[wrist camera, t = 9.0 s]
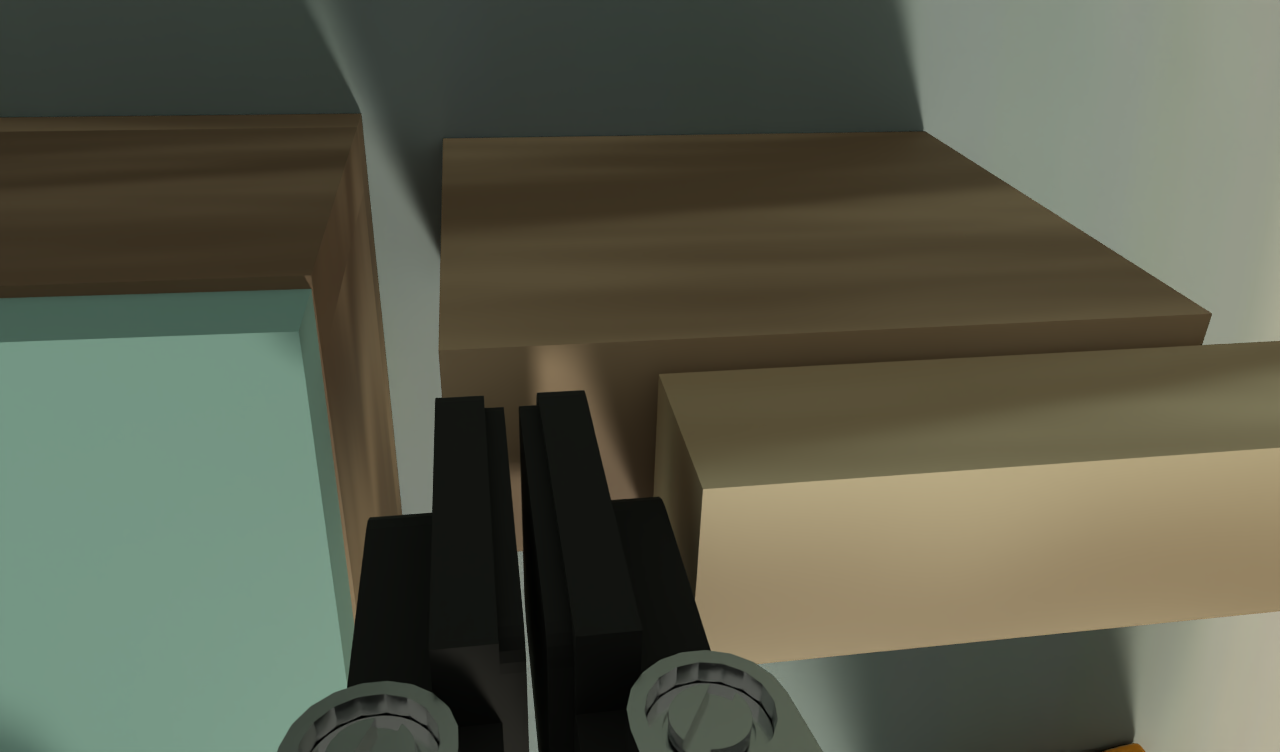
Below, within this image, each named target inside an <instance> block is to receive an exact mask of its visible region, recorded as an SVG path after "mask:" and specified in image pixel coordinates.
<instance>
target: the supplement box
mask: <svg viewBox="0 0 1280 752" xmlns="http://www.w3.org/2000/svg"><path fill="white" fill-rule="evenodd" d="M1104 752H1145V751H1144V749H1143V748H1142V747H1141V746H1140V745H1139V744H1137V743H1132V744H1128V745H1123V746H1118V747H1116V748H1112V749H1108V750H1106V751H1104Z"/></svg>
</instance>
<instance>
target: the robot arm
mask: <svg viewBox="0 0 1280 752" xmlns="http://www.w3.org/2000/svg"><path fill="white" fill-rule="evenodd" d="M519 439H520V471H521V502H522V534H523V565H524V595H525V612H526V625H527V635H528V646H529V656H530V667H531V677H532V687H533V698H534V708H535V719H536V729H537V740H538V750H539V752H823V751H822V749H821V748H820V746H819V744H818V743H817V741H816V739H815V738H814V736H813V734H812V733H811V731H810V729H809V728H808V726H807V724H806V723H805V721H804V719H803V718H802V716H801V714H800V712H799V711H798V709H797V707H796V706H795V704H794V702H793V701H792V699H791V697H790V696H789V694H788V692H787V691H786V690H785V689H784V688H783V686H782V685H781V684H780V683H779V682H778V680H777V679H776V678H775V677H774V676H773V675H772V674H771V673H769V672H768V671H766V670H765V669H763V668H762V667H760V666H759V665H757V664H756V663H754V662H752V661H750V660H747V659H744V658H742V657H739V656H736V655H734V654H731V653H724V652H717V651H711V649H710V646H709V643H708V640H707V637H706V633H705V630H704V627H703V624H702V621H701V618H700V614H699V611H698V608H697V605H696V602H695V599H694V596H693V592H692V589H691V586H690V583H689V580H688V577H687V573H686V570H685V567H684V564H683V561H682V558H681V555H680V551H679V548H678V545H677V542H676V539H675V536H674V532H673V529H672V526H671V523H670V520H669V517H668V514H667V510H666V507H665V505H664V502H663V500H662V499H661V498H660V497H646V498H632V499H618V500H611V497H610V493H609V489H608V484H607V480H606V476H605V472H604V468H603V464H602V459H601V455H600V451H599V447H598V443H597V439H596V434H595V430H594V426H593V422H592V418H591V414H590V409H589V405H588V401H587V397H586V393H585V390H576V391H558V392H540V393H537V396H536V405H530V406H519ZM277 752H529V736H528V705H527V673H526V651H525V635H524V621H523V610H522V599H521V588H520V577H519V566H518V555H517V545H516V534H515V523H514V512H513V501H512V490H511V479H510V469H509V458H508V447H507V436H506V425H505V414H504V407H495V408H485V404H484V396H465V397H447V398H436V399H435V430H434V468H433V505H432V513H423V514H409V515H395V516H381V517H370V518H369V519H368V521H367V527H366V533H365V542H364V550H363V558H362V567H361V575H360V583H359V591H358V600H357V608H356V616H355V624H354V633H353V641H352V649H351V658H350V666H349V674H348V682H347V688H346V689H343V690H340V691H337V692H334V693H332V694H331V695H329V696H327V697H326V698H324V699H322V700H320V701H319V702H317V703H315V704H314V705H312V706H310V707H309V708H308V709H307V710H306V711H305V712H304V713H303V714H302V715H301V716H300V717H299V718H298V719H297V720H296V721H295V722H294V723H293V724H292V725H291V726H290V728H289V730H288V732H287V733H286V735H285V737H284V739H283V740H282V742H281V744H280V745H279V748H278V750H277Z"/></svg>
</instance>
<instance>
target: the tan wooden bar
mask: <svg viewBox="0 0 1280 752" xmlns="http://www.w3.org/2000/svg"><path fill="white" fill-rule="evenodd" d="M653 497H660V498H661V499H662V500H663V502H664V505H665V507H666V510H667V514H668V517H669V520H670V523H671V526H672V529H673V532H674V536H675V539H676V542H677V545H678V548H679V551H680V555H681V558H682V561H683V564H684V567H685V570H686V573H687V577H688V580H689V583H690V586H691V589H692V592H693V596H694V599H695V602H696V605H697V608H698V611H699V614H700V618H701V621H702V624H703V627H704V630H705V633H706V637H707V640H708V643H709V646H710V649H711V651H717V652H724V653H731V654H734V655H736V656H739V657H742V658H744V659H747V660H750V661H752V662H754V663H756V664H763V663H773V662H783V661H793V660H802V659H812V658H822V657H832V656H842V655H852V654H862V653H871V652H881V651H891V650H901V649H911V648H921V647H931V646H941V645H950V644H960V643H970V642H980V641H990V640H1000V639H1010V638H1019V637H1029V636H1039V635H1049V634H1059V633H1069V632H1079V631H1088V630H1098V629H1108V628H1118V627H1128V626H1138V625H1148V624H1158V623H1167V622H1177V621H1187V620H1197V619H1207V618H1217V617H1227V616H1236V615H1246V614H1256V613H1266V612H1276V611H1280V341H1271V342H1253V343H1234V344H1215V345H1196V346H1177V347H1158V348H1140V349H1121V350H1102V351H1083V352H1064V353H1045V354H1027V355H1008V356H989V357H970V358H951V359H932V360H914V361H895V362H876V363H857V364H838V365H819V366H801V367H782V368H763V369H744V370H725V371H707V372H688V373H669V374H659V380H658V403H657V426H656V449H655V472H654V496H653Z"/></svg>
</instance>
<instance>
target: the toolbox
mask: <svg viewBox="0 0 1280 752" xmlns="http://www.w3.org/2000/svg"><path fill="white" fill-rule="evenodd" d="M291 289H312V296H313V304H314V312H315V320H316V328H317V336H318V344H319V351H320V359H321V367H322V375H323V383H324V391H325V399H326V406H327V414H328V422H329V430H330V438H331V446H332V454H333V461H334V469H335V477H336V485H337V493H338V501H339V509H340V516H341V524H342V532H343V540H344V548H345V556H346V563H347V571H348V579H349V587H350V595H351V603H352V611H353V618H354V624H355V616H356V608H357V600H358V591H359V583H360V575H361V567H362V558H363V550H364V542H365V533H366V527H367V521H368V519H369V518H370V517H381V516H395V515H402V509H401V499H400V489H399V480H398V470H397V460H396V450H395V440H394V430H393V421H392V411H391V401H390V391H389V381H388V371H387V362H386V352H385V342H384V332H383V322H382V313H381V303H380V293H379V283H378V273H377V263H376V254H375V244H374V234H373V224H372V214H371V205H370V195H369V185H368V175H367V165H366V155H365V146H364V136H363V126H362V116H361V114H278V115H185V116H92V117H0V298H26V297H59V296H92V295H125V294H158V293H192V292H225V291H258V290H291ZM1211 316H1212V313H1210V312H1209V311H1207V310H1206V309H1204V308H1202V307H1201V306H1199V305H1198V304H1196V303H1195V302H1193V301H1191V300H1190V299H1188V298H1187V297H1185V296H1184V295H1182V294H1180V293H1179V292H1177V291H1176V290H1174V289H1173V288H1171V287H1169V286H1168V285H1166V284H1165V283H1163V282H1162V281H1160V280H1158V279H1157V278H1155V277H1154V276H1152V275H1150V274H1149V273H1147V272H1146V271H1144V270H1143V269H1141V268H1139V267H1138V266H1136V265H1135V264H1133V263H1132V262H1130V261H1128V260H1127V259H1125V258H1124V257H1122V256H1121V255H1119V254H1117V253H1116V252H1114V251H1113V250H1111V249H1110V248H1108V247H1106V246H1105V245H1103V244H1102V243H1100V242H1099V241H1097V240H1095V239H1094V238H1092V237H1091V236H1089V235H1087V234H1086V233H1084V232H1083V231H1081V230H1080V229H1078V228H1076V227H1075V226H1073V225H1072V224H1070V223H1069V222H1067V221H1065V220H1064V219H1062V218H1061V217H1059V216H1058V215H1056V214H1054V213H1053V212H1051V211H1050V210H1048V209H1047V208H1045V207H1043V206H1042V205H1040V204H1039V203H1037V202H1036V201H1034V200H1032V199H1031V198H1029V197H1028V196H1026V195H1024V194H1023V193H1021V192H1020V191H1018V190H1017V189H1015V188H1013V187H1012V186H1010V185H1009V184H1007V183H1006V182H1004V181H1002V180H1001V179H999V178H998V177H996V176H995V175H993V174H991V173H990V172H988V171H987V170H985V169H984V168H982V167H980V166H979V165H977V164H976V163H974V162H973V161H971V160H969V159H968V158H966V157H965V156H963V155H961V154H960V153H958V152H957V151H955V150H954V149H952V148H950V147H949V146H947V145H946V144H944V143H943V142H941V141H939V140H938V139H936V138H935V137H933V136H932V135H930V134H928V133H927V132H925V131H917V132H850V133H782V134H714V135H646V136H578V137H510V138H443V164H442V212H441V261H440V309H439V362H440V376H441V389H442V398H447V397H465V396H484V404H485V408H495V407H504V414H505V425H506V436H507V447H508V458H509V469H510V479H511V490H512V501H513V512H514V523H515V534H516V545H517V551H523V534H522V502H521V471H520V439H519V406H530V405H536V396H537V393H540V392H558V391H576V390H585V393H586V397H587V401H588V405H589V409H590V414H591V418H592V422H593V426H594V430H595V434H596V439H597V443H598V447H599V451H600V455H601V459H602V464H603V468H604V472H605V476H606V480H607V484H608V489H609V493H610V497H611V500H618V499H632V498H646V497H653V496H654V472H655V449H656V426H657V403H658V380H659V374H669V373H688V372H707V371H725V370H744V369H763V368H782V367H801V366H819V365H838V364H857V363H876V362H895V361H914V360H932V359H951V358H970V357H989V356H1008V355H1027V354H1045V353H1064V352H1083V351H1102V350H1121V349H1140V348H1158V347H1177V346H1196V345H1202V343H1203V340H1204V337H1205V334H1206V331H1207V328H1208V325H1209V322H1210V319H1211Z"/></svg>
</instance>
